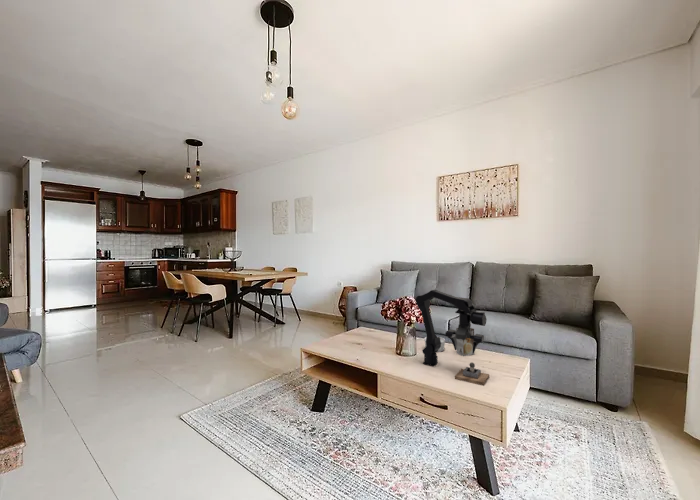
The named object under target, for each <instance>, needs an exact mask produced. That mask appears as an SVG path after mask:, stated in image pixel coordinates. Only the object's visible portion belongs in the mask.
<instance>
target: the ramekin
mask: <svg viewBox="0 0 700 500" xmlns="http://www.w3.org/2000/svg"><path fill="white" fill-rule="evenodd" d="M439 337H440V341H441V343H442V344H441V347H440V349H438V352H437V353H441V352H443V351H444V349H445V345H446V339H445V338H444V337H442V336H439ZM426 338H427V336H426V337H424V339H423V341H424V348H425V347H426Z"/></svg>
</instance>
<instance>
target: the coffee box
mask: <svg viewBox="0 0 700 500" xmlns="http://www.w3.org/2000/svg"><path fill="white" fill-rule="evenodd" d="M457 329H458V327H456V328H455V330H456V331H457ZM470 332H471V335H475V328H472V327H470ZM473 342H474V339H471V338H466V339H465V340H462V339H457V348H456V350H455V351H456V355H459V356H462V357H467V356H472V355H475V354H476V353H475V352H476V351H475V352H474V354H473Z"/></svg>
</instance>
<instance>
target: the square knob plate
mask: <svg viewBox="0 0 700 500" xmlns="http://www.w3.org/2000/svg"><path fill="white" fill-rule="evenodd" d="M475 364H476V363H474V362H470V363H469V364H468V365H469V368H470V372H473V373H474V369H475V367H476V365H475ZM464 370H465V368H461V369H460V370H459V371H457V373H456V374H455V375H454V380H457V381H462V382H466V383H471V384H475V385H480V386H485V385H486V384H487V382H488V380H489V379H490V374H489V373H486V372H485V373H484V372H481V375H480V376H479V378H478V379H475V378H470V377H465V376H463V371H464Z"/></svg>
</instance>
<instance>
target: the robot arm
mask: <svg viewBox="0 0 700 500" xmlns="http://www.w3.org/2000/svg"><path fill="white" fill-rule="evenodd" d="M434 298H435V299H437V300H441V301H442V302H444V303H448V304H450V305H453V306H454V307H456V308H457V310H456V311H455V314H458V315H459V317H458V321H459V322H458V327H457V328H458V329H457V331H456V329H451V328H450V329H448V330H447V331H445V336H446V337H447V338H448V339H449V340H450V341H451V343H452V346H453V348H454V351H456V348H457V339H462V340H465V339H466V338H471V339H474V342H473V355H475V354H474V352H476V349H477V347H478V345H479V344H480V343H483V342H484V341H485V336H484V334H481V333H476V334H474V335H471V332H470V328H472V327H471V326H472V324H473V325H477V326H483V327H485V326H486V324H487V316H486V314H485V313H486V312H483V311H477V309H476V308H475V306H474V304H473V301H472V300H471V299H470V298H466V297H461V296H460V297H459V296H458V297H457V296H454V295H452V294H449V293H445V292H443V291H440V290H437V289H431V290H430V291H427V292H426V293H424V294H420V295H418V296H417V297H416V298H415V303H416V307H417V308H418V310H420V313H421V316H422V321H423V325H424V329H425V334H426V337H427V338H426V347H425V346H424V348H423V349H422V350H421V351H422V354H423V355H424V358H423V359H424V360H423V364H424V365H426V366H427V365H428V366H432V367H435V366H436V365H437V364H438V362H439V360H438V355H437V353H439V352H438V349H440V347H441V344H442V343H441V341H440V337H441V336H437V334H436V332H435V329H434V328H435V327H434V324H433V319H432V315H431V311H430V308H431V307H430V306H431V300H433V299H434Z"/></svg>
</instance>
